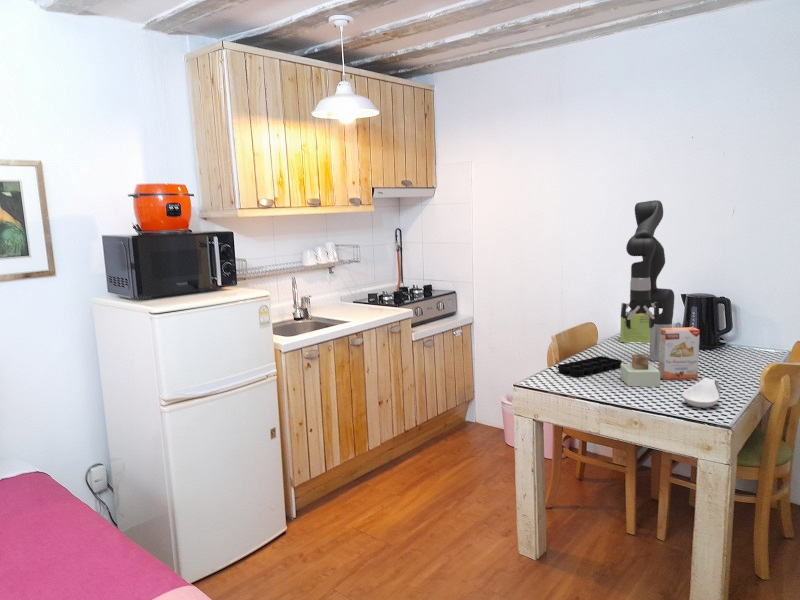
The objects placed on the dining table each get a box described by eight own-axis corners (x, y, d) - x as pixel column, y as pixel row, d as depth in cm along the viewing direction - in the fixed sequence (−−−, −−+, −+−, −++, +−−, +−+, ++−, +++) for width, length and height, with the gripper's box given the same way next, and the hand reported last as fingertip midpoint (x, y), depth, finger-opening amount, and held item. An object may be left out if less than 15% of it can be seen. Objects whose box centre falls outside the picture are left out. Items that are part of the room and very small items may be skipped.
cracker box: (664, 380, 233) (665, 330, 230) (657, 376, 239) (658, 327, 236) (698, 379, 233) (700, 329, 230) (691, 375, 239) (692, 326, 236)
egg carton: (553, 374, 250) (553, 366, 250) (590, 361, 270) (590, 353, 269) (589, 382, 237) (589, 373, 236) (625, 367, 256) (625, 359, 256)
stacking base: (650, 378, 238) (650, 364, 237) (659, 386, 226) (660, 371, 225) (620, 378, 239) (620, 364, 238) (628, 386, 227) (628, 372, 226)
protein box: (651, 344, 296) (652, 315, 294) (620, 343, 302) (620, 314, 300) (651, 340, 306) (652, 311, 303) (620, 338, 312) (621, 311, 309)
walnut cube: (644, 366, 234) (644, 354, 233) (648, 369, 229) (648, 357, 228) (631, 366, 234) (632, 354, 234) (635, 369, 229) (635, 357, 229)
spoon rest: (714, 413, 195) (715, 393, 194) (677, 407, 203) (678, 387, 202) (729, 395, 213) (730, 377, 212) (695, 390, 220) (695, 372, 219)
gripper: (655, 286, 231) (654, 325, 233) (619, 287, 233) (618, 326, 235) (662, 289, 224) (661, 329, 226) (624, 290, 225) (624, 330, 228)
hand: (639, 328), depth 231 cm, fingers open, 8 cm apart
